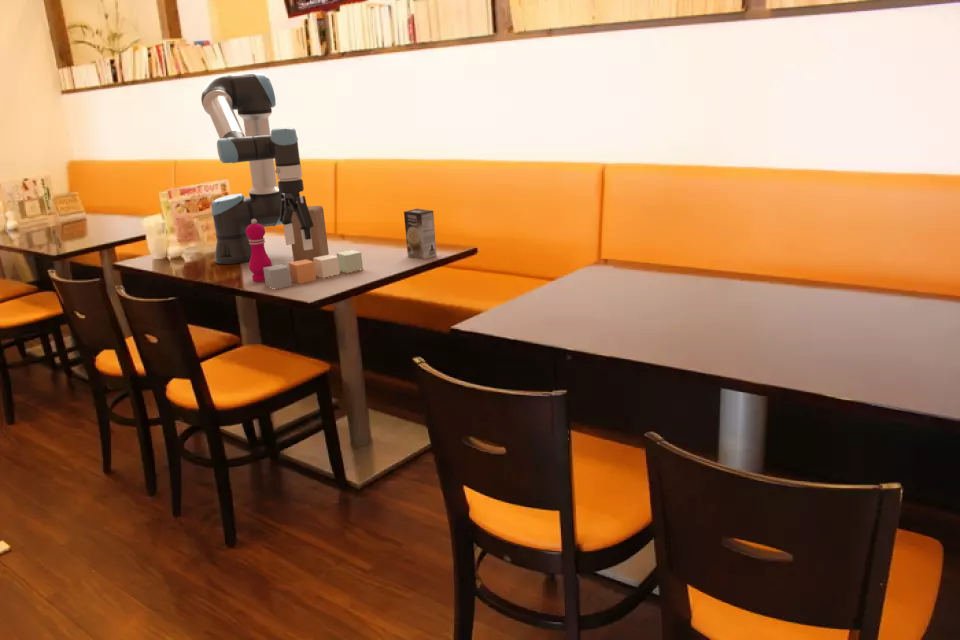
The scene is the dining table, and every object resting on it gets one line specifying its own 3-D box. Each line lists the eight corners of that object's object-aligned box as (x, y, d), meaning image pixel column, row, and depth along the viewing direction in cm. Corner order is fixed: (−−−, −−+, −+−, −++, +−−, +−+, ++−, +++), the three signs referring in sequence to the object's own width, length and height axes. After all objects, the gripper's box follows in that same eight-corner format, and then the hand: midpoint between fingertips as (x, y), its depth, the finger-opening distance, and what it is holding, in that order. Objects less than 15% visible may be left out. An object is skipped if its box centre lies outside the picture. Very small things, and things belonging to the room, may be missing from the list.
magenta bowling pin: (278, 276, 254) (269, 216, 247) (266, 282, 247) (257, 220, 241) (258, 276, 255) (249, 216, 249) (246, 282, 249) (237, 221, 243)
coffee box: (406, 256, 271) (402, 211, 266) (420, 253, 275) (416, 208, 270) (424, 259, 265) (420, 213, 260) (437, 255, 269) (434, 210, 264)
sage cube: (338, 270, 257) (336, 253, 255) (354, 267, 260) (352, 249, 259) (347, 273, 252) (344, 255, 251) (363, 270, 256) (361, 252, 254)
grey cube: (265, 286, 243) (263, 267, 241) (283, 282, 246) (281, 264, 244) (273, 289, 238) (270, 270, 236) (291, 285, 242) (288, 267, 240)
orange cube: (291, 280, 248) (288, 262, 246) (308, 277, 251) (305, 259, 249) (298, 284, 243) (296, 265, 241) (316, 280, 246) (313, 262, 244)
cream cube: (315, 275, 252) (313, 257, 250) (331, 272, 256) (329, 254, 254) (323, 278, 248) (321, 260, 246) (340, 275, 251) (338, 257, 249)
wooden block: (330, 261, 270) (323, 205, 264) (322, 268, 261) (314, 210, 255) (303, 262, 271) (295, 206, 265) (293, 269, 262) (285, 211, 256)
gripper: (263, 178, 245) (272, 244, 251) (295, 183, 225) (304, 254, 232) (285, 175, 249) (294, 240, 255) (318, 180, 230) (327, 249, 236)
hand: (299, 246), depth 243 cm, fingers open, 13 cm apart
